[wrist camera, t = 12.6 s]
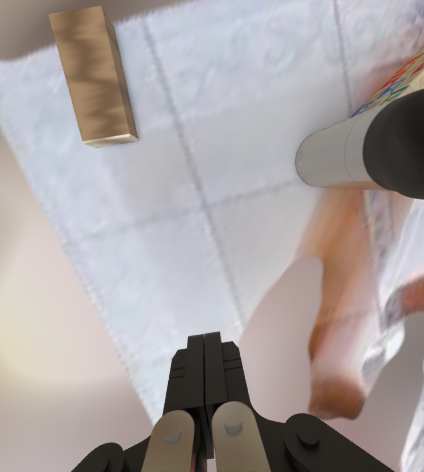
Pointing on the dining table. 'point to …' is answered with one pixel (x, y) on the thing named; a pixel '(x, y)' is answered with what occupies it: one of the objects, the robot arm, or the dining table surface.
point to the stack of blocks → (399, 84)
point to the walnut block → (94, 76)
